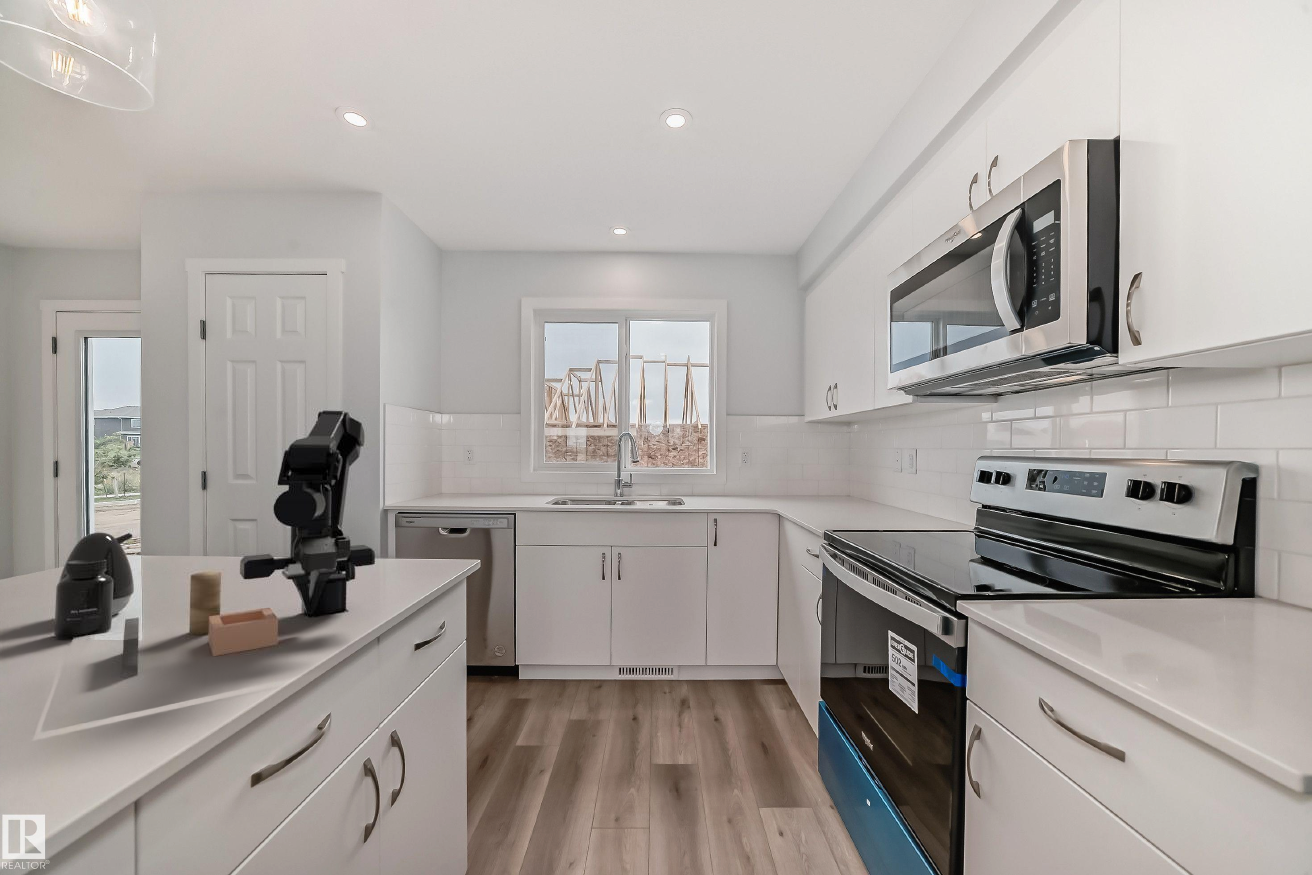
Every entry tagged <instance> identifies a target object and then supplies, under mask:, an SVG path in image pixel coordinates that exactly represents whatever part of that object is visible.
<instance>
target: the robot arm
mask: <svg viewBox="0 0 1312 875" xmlns="http://www.w3.org/2000/svg"><path fill="white" fill-rule="evenodd" d="M364 445H365V430H364V426H363V424H362V422H360V421H358V420H356V419H355V418H354V417H353V418H352V417H351V416H350V414H349V412H346V411H344V410H326V409H325V410H322V411H319V412H318V414H317V420H316V421H315V424H314V426H313V427H312V429H311V431H309V434H308V435H307V436H306V437H303V438H298V439H296V440H294V441H293V442H292V443H291V444H289V447H288V448H287V449H286V450H284V453H283V456H282V461H281V466H280V470H279V475H278V478H277V486H288V490H285V491H283V492H282V493H281V494H280V495H278V497H277V498H276V499H275V501H274V504H273V514H274V516H275V518H276V520H277V521H278V522H279V523H281V524H282V525H284V526H286V527H290V544H289V546H290V549H289V551H290V552H289V553H290V554H289V557H277V558H275V557H274V556H272V554H270V553H265V554H264V553H263V554H256V555H255V554H254V555H244V556H243V557H242V558H241V559H240V561H239V562H240V563H239V575H240V576H241V577H242V579H243V580H253V579H254V580H255V579H264V578H269V577H271V576H272V574H274V572H275V571H280V570H282V571H281V575H282V576H283V577H284V578H285V579H286V580H289V581H292V582H293V584H294V586H295V588H296V590H297V592H298V595H299V597H300V600H301V613H302V614H303V616H307V617H308V618H310V619H312V618H313V619H314V618H317V617H324V616H330V615H331V616H332V615H337V614H342V613H343V614H344V613H347V612H348V613H349V610H348V609H347V586H348V585H347V582H350V581H352V580H355V579H356V567H357V568H358V567H364V566H372V565H375V562H376V553H375V551H374V550H373V548H371V547H369V546H367V545H365V544H359V545H351V538H350V536H349V535H345V534H344V532H343V530H342V529H343V520H344V515H345V514H344V513H345V504H346V497H347V488H348V482H349V473H350V467H351V466H352V465H353V464H354V463H355V462H356V461H357V460H358V459H359V458H360V453H361V448H362V447H364Z"/></svg>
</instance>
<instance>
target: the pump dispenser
mask: <svg viewBox="0 0 1312 875" xmlns="http://www.w3.org/2000/svg"><path fill="white" fill-rule="evenodd" d="M132 538H133V534H132V533H131V532H128V533H126V534H123V535H120V536H118V537H114V536H113V535H111V534H110V533H106V532H103V531H101V532H99V531H97V532H93V533H89V534H87V535H85V536H83V537H82V538H80V539H79V540H78V541H77V543H76V544H75V545H74V546H73V549H72V550H71V551H70V554H69V555H68V557H67V559H66V561H65V563H64V566H63V569H62V571H61V573H60V577H59V580H58V583H59V582H60V581H61V580H63V579H65V578H67V574H65V571H66V564H67V562H70V561H75V560H83V559H106V567H107V570H106V571H104V574H106V575H109V576H110V577H112V579H113V583H114V585H113V606H112V617H113V616H114V615H117V614H118V613H120V612H122V611H123V609H125V608H126V607H127V605H128V604H129V602H130V599H131V597H132V595H133V594H134V592H135V584H134V578H133V573H132V568H131V564H130V561H129V558H128V556H127V554H126V552H125V550H124V547H122V544H124V543H125V542H127V541H129V540H131V539H132Z"/></svg>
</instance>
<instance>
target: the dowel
mask: <svg viewBox="0 0 1312 875" xmlns="http://www.w3.org/2000/svg"><path fill="white" fill-rule="evenodd" d="M189 585H190V586H189V587H190V590H189V593H190V594H189V596H190V597H189V635H190V636H204V635H209V616H215V615H221V600H222V599H221V592H222V590H221V589H222V572H221V571H203V572H197V573H193V574H191V575H190V584H189Z"/></svg>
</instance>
